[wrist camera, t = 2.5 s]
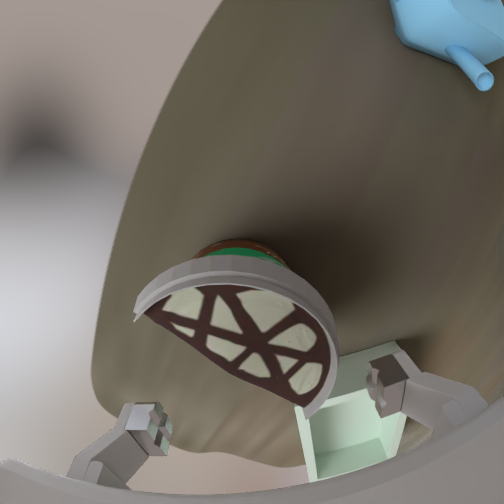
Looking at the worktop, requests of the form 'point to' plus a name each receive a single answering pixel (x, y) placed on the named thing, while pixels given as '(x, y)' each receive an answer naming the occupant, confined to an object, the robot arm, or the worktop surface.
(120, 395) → the worktop surface
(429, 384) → the robot arm
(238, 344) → the food container
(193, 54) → the worktop surface
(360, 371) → the crate
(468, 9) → the teapot
